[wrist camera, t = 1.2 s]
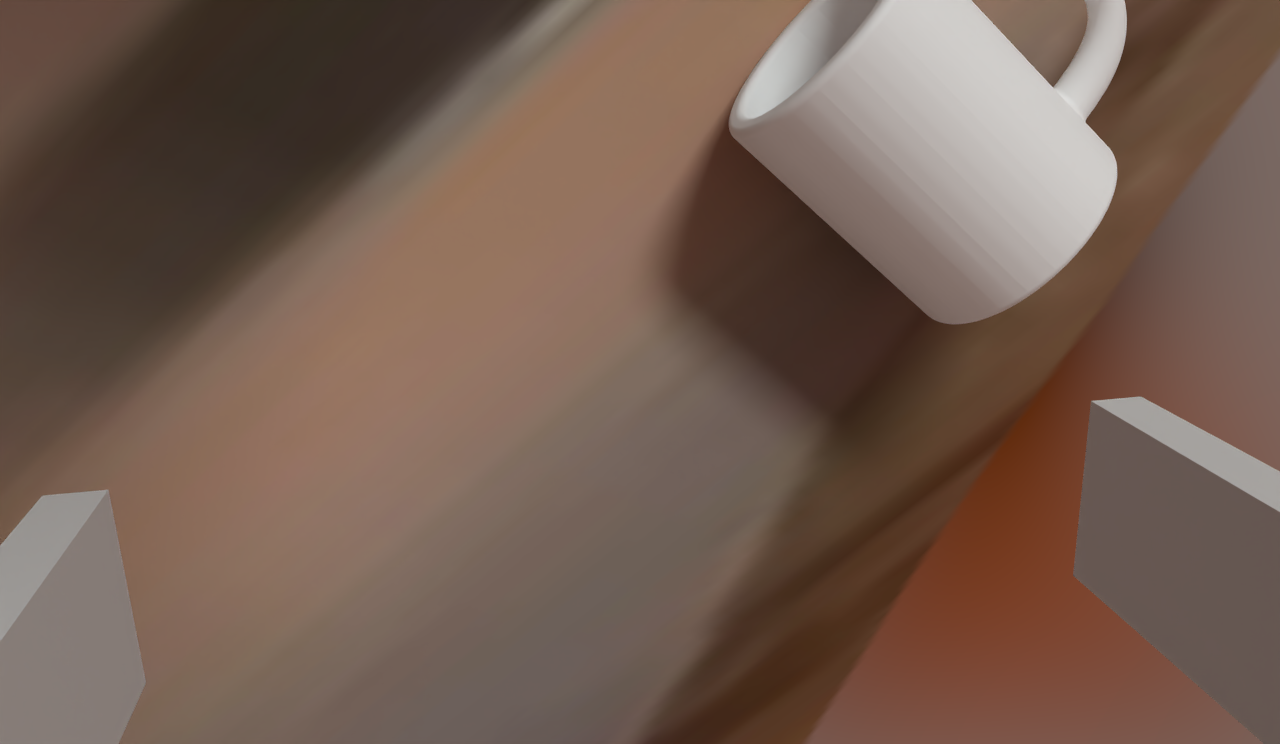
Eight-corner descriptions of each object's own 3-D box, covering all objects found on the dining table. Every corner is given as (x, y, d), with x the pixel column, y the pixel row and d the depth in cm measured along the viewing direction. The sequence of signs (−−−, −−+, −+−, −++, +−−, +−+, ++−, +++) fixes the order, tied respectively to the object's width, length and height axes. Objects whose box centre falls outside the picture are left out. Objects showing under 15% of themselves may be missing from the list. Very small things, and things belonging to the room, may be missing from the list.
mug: (892, 297, 42) (990, 354, 34) (702, 124, 39) (764, 146, 31) (1112, 49, 41) (1263, 52, 33) (933, -151, 38) (1056, -198, 30)
